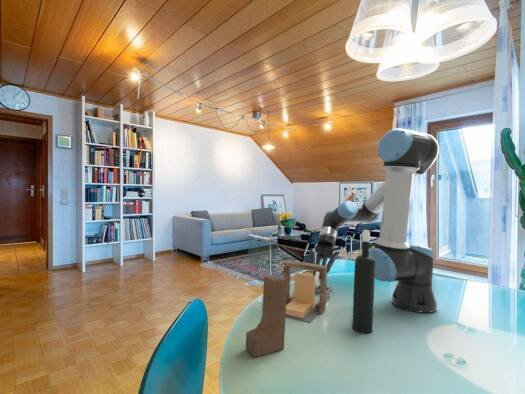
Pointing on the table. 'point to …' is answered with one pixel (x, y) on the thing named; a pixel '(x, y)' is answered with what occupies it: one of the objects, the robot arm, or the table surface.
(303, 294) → the tan l-shaped block
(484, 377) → the table surface
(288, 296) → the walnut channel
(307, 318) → the felt mat
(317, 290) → the pad
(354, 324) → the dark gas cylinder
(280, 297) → the wooden block
